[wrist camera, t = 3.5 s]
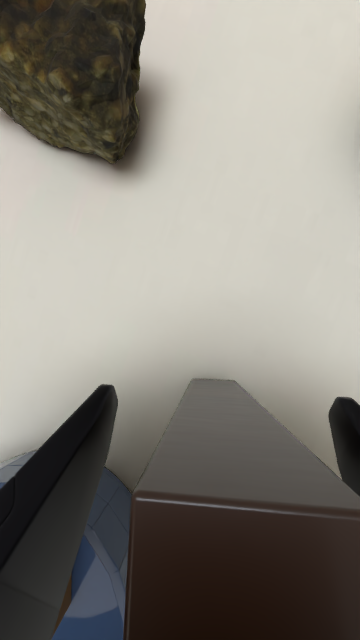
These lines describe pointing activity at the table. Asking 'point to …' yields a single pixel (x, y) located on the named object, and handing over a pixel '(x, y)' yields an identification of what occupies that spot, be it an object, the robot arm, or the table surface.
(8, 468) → the bowl
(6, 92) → the rock
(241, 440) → the stick
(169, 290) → the table surface
